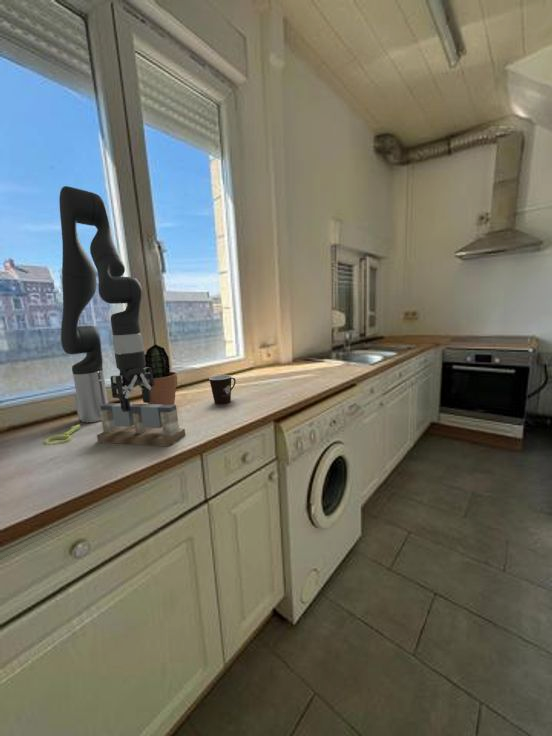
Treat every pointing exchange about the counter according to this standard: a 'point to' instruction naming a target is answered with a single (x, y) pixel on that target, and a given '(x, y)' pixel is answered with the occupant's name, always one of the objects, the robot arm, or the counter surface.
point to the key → (63, 436)
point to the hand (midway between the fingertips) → (137, 406)
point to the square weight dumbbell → (148, 411)
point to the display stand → (141, 430)
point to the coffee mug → (221, 388)
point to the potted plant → (161, 376)
